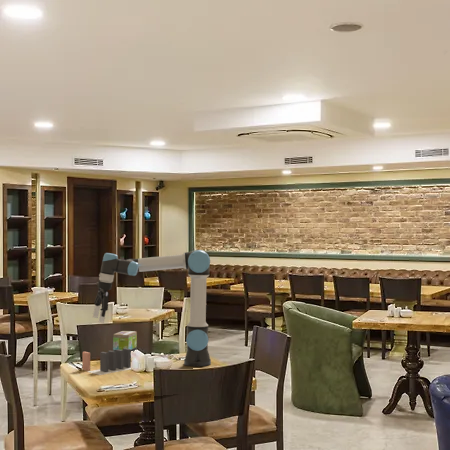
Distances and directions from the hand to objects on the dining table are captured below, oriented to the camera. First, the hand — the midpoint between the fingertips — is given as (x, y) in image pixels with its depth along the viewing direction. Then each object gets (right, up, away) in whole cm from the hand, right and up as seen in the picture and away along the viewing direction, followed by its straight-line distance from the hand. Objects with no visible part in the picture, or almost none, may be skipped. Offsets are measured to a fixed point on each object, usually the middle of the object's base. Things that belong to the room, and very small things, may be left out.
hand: (98, 320), depth 378 cm
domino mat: (+8, -27, -2) cm, 28 cm away
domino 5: (+15, -27, +5) cm, 31 cm away
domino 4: (+11, -27, +1) cm, 29 cm away
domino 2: (+4, -27, -6) cm, 27 cm away
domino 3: (+8, -27, -2) cm, 28 cm away
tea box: (+9, -27, +36) cm, 46 cm away
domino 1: (-6, -27, -2) cm, 28 cm away
